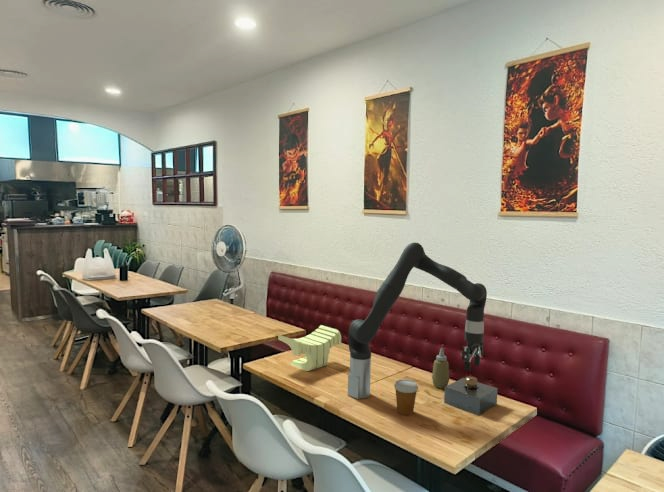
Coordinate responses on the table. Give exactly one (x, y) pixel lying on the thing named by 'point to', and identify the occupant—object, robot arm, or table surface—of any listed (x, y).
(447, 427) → the table surface
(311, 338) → the slatted curved stool
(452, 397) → the block
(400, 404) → the disposable coffee cup
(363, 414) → the table surface
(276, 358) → the table surface
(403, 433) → the table surface
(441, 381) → the squeeze bottle
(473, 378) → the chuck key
